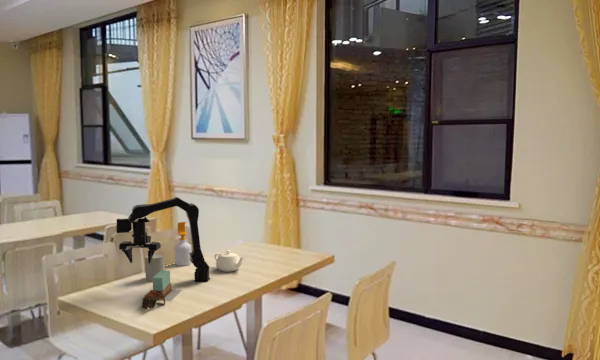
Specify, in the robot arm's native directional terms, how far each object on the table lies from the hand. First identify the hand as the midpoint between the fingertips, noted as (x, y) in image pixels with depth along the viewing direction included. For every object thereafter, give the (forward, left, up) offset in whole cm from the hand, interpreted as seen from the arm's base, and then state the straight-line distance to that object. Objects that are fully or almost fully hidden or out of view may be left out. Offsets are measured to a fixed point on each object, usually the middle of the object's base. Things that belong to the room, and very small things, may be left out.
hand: (140, 263), depth 233 cm
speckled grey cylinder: (-1, -14, -13) cm, 19 cm away
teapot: (-35, -34, -13) cm, 50 cm away
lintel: (-14, +9, -8) cm, 19 cm away
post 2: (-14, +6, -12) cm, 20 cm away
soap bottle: (-6, -42, -13) cm, 44 cm away
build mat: (-14, +9, -12) cm, 21 cm away
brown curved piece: (-16, +23, -13) cm, 30 cm away
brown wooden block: (-14, +12, -12) cm, 22 cm away
